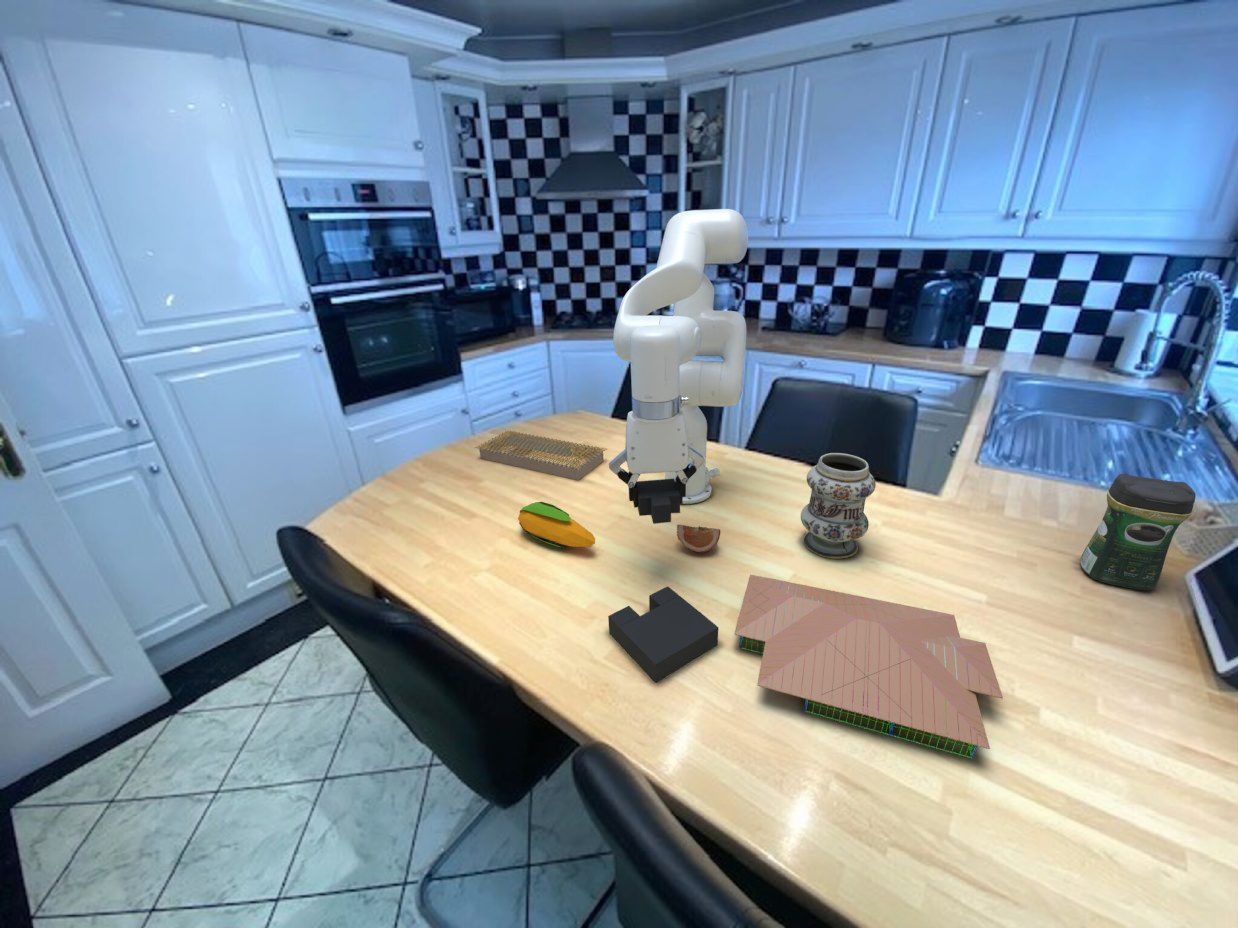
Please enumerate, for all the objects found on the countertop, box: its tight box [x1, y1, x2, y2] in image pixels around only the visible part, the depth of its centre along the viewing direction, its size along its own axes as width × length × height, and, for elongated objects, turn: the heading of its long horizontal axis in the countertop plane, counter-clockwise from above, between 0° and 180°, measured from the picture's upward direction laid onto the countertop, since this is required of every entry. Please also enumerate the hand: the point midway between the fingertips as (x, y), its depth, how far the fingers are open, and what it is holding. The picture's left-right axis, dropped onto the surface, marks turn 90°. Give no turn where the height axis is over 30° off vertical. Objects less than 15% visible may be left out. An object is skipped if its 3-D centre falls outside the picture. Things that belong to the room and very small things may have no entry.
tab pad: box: [637, 478, 681, 525], centre depth 87 cm, size 7×9×4 cm
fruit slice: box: [676, 524, 721, 553], centre depth 99 cm, size 8×7×5 cm
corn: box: [517, 501, 596, 549], centre depth 103 cm, size 7×8×20 cm
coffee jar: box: [1079, 473, 1196, 591], centre depth 84 cm, size 10×8×19 cm
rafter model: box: [474, 430, 608, 481], centre depth 140 cm, size 35×14×6 cm, turn 61°
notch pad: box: [607, 585, 719, 683], centre depth 78 cm, size 12×12×4 cm
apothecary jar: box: [800, 452, 877, 560], centre depth 96 cm, size 12×12×18 cm
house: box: [733, 573, 1004, 759], centre depth 71 cm, size 23×33×8 cm
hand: (657, 501), depth 88 cm, fingers closed on tab pad, 7 cm apart
